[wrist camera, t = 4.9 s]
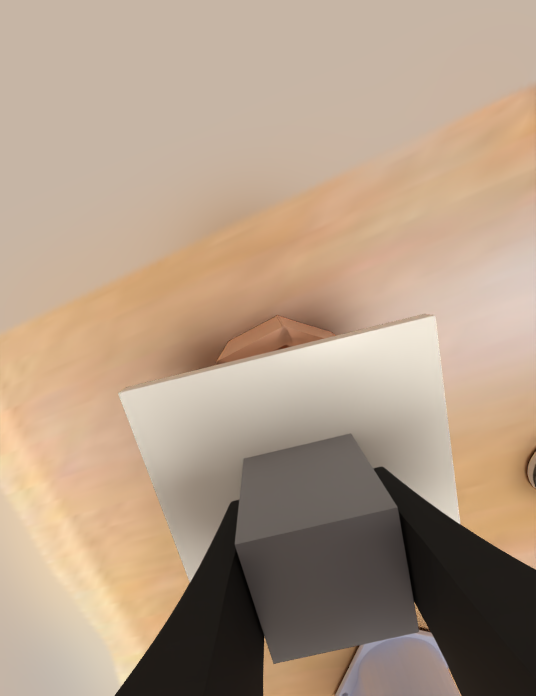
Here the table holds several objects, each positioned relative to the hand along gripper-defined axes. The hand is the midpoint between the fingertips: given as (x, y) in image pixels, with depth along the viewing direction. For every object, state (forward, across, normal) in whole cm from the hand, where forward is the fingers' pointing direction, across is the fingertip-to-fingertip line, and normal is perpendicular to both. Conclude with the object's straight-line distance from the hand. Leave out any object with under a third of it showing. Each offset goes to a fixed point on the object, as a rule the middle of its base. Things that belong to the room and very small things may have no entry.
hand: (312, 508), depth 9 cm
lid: (+2, 0, 0) cm, 2 cm away
